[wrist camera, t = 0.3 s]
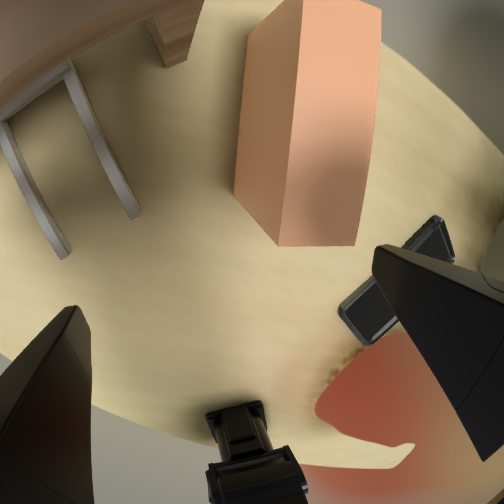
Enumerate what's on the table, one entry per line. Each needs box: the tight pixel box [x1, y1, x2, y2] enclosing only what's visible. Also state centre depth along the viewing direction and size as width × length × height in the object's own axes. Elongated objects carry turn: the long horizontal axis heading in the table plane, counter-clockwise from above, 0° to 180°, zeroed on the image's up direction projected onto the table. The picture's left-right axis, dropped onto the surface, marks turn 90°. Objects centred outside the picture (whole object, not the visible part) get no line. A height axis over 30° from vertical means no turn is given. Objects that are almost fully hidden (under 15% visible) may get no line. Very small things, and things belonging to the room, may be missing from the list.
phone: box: [338, 216, 455, 346], centre depth 30 cm, size 8×1×15 cm
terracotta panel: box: [233, 0, 381, 247], centre depth 16 cm, size 12×4×10 cm, turn 175°
